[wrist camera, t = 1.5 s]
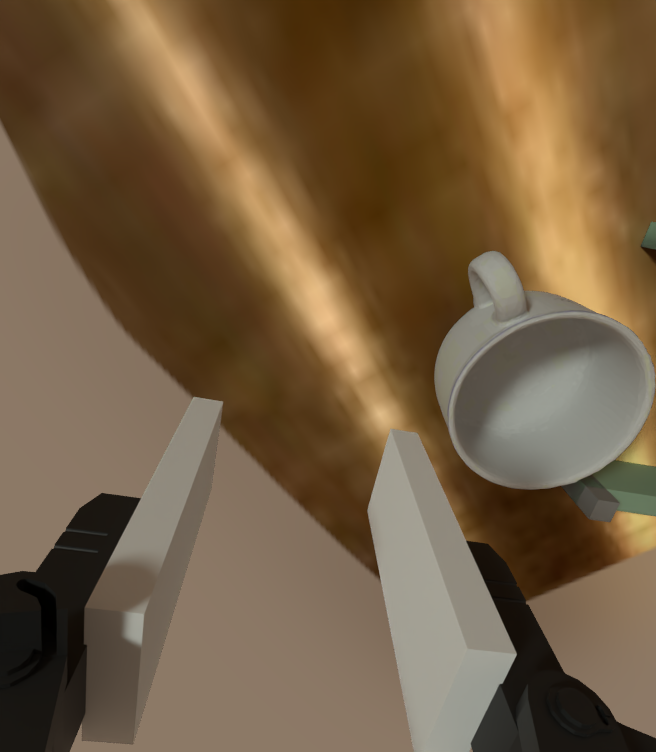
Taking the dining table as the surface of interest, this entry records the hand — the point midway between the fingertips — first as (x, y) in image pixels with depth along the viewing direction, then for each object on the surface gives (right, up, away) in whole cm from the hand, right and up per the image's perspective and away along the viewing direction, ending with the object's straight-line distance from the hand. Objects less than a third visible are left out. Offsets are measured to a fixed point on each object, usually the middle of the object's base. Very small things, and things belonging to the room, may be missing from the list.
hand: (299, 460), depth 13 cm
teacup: (+12, +5, +19) cm, 23 cm away
